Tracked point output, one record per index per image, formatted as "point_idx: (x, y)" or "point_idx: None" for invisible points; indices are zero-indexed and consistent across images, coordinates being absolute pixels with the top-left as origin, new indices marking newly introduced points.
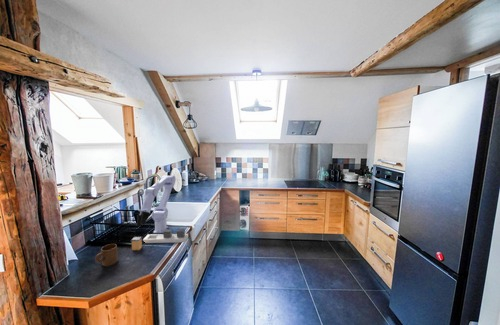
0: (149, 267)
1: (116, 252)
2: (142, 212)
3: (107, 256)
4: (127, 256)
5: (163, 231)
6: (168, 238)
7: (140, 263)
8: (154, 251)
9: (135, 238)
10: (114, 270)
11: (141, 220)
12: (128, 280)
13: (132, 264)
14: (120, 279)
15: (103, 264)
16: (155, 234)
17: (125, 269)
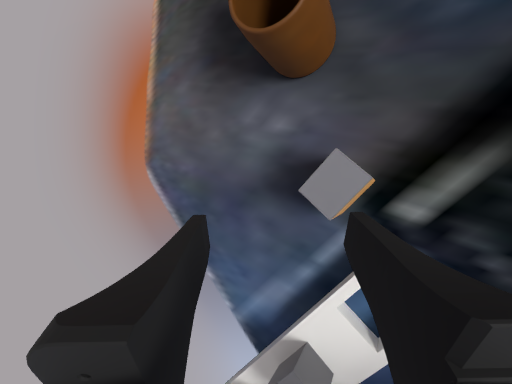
0: (170, 175)
1: (257, 49)
2: (58, 320)
3: (249, 4)
4: (298, 123)
5: (294, 373)
6: (278, 352)
7: (209, 157)
8: (251, 238)
9: (336, 177)
10: (230, 63)
11: (176, 234)
12: (155, 102)
13: (222, 130)
14: (173, 80)
15: (284, 11)
16: None
17: (210, 101)
